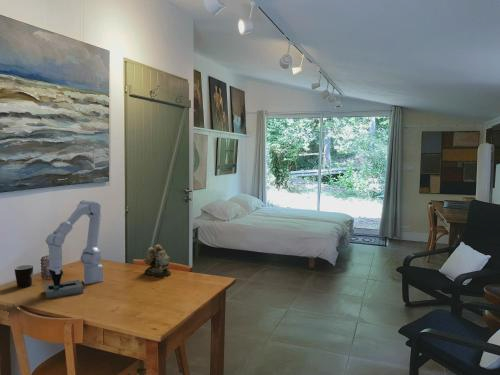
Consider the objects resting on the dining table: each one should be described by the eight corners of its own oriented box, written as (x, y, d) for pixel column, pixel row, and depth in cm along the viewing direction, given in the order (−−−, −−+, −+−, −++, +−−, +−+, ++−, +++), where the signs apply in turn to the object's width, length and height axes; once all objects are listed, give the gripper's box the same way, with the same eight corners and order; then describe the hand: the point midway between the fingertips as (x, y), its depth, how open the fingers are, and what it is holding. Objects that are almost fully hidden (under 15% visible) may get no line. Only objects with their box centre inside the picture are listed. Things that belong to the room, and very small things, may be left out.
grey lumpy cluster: (137, 274, 225) (137, 245, 224) (151, 269, 235) (150, 241, 234) (163, 278, 217) (163, 248, 216) (175, 273, 228) (175, 244, 227)
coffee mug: (25, 289, 198) (24, 270, 197) (10, 288, 200) (10, 269, 199) (41, 282, 209) (41, 264, 209) (28, 281, 211) (27, 263, 210)
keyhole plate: (79, 286, 204) (79, 279, 203) (83, 292, 194) (83, 286, 193) (44, 291, 195) (44, 284, 195) (47, 299, 185) (47, 292, 185)
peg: (61, 290, 196) (61, 273, 195) (62, 293, 191) (61, 276, 191) (50, 292, 193) (49, 274, 193) (50, 295, 189) (50, 277, 188)
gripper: (45, 255, 195) (45, 282, 196) (48, 262, 183) (49, 290, 184) (60, 253, 199) (61, 279, 200) (64, 260, 187) (65, 287, 188)
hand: (56, 284), depth 192 cm, fingers closed on peg, 2 cm apart
